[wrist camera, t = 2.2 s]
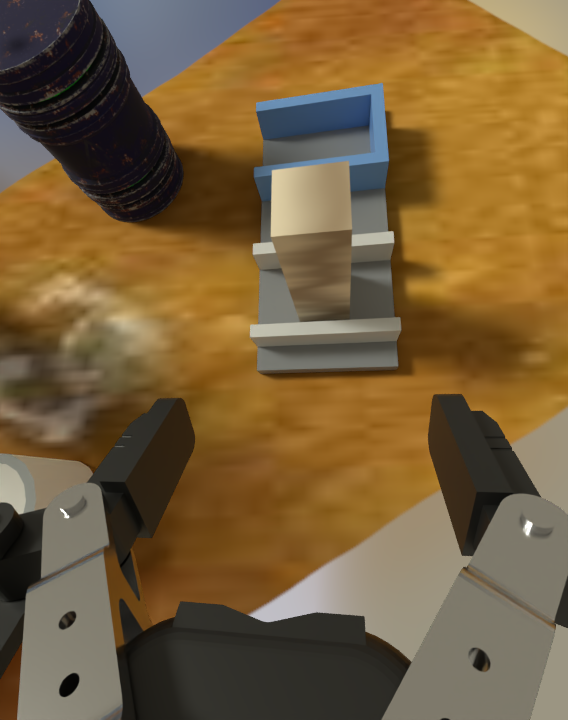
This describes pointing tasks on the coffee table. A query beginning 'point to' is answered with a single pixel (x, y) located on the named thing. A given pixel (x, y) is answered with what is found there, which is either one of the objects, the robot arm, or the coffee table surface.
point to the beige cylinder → (37, 480)
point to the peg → (314, 237)
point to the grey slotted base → (369, 234)
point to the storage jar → (85, 106)
